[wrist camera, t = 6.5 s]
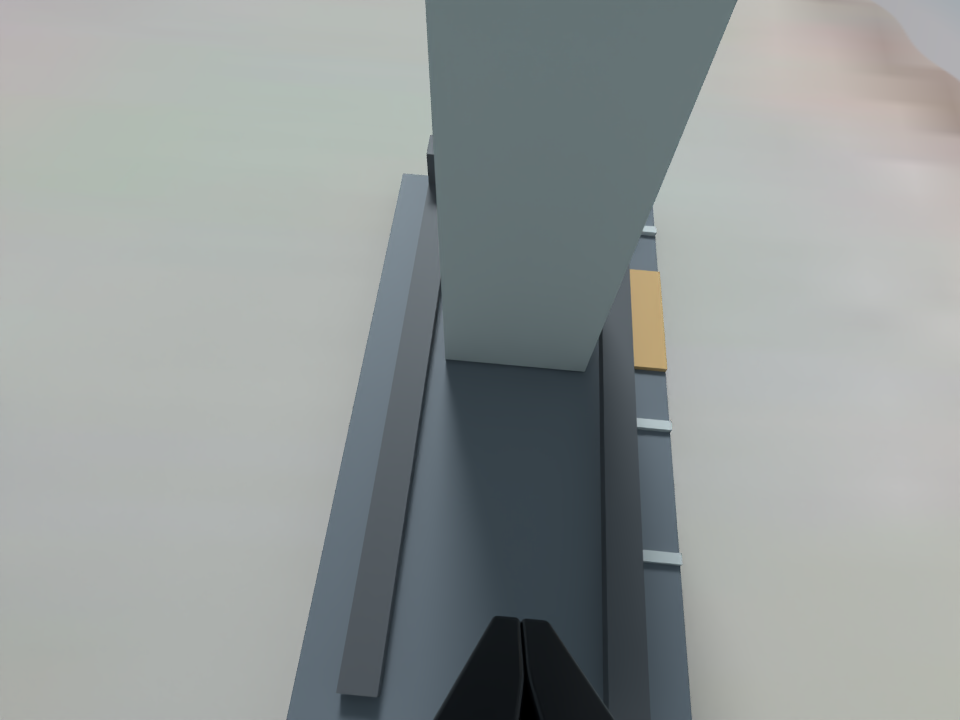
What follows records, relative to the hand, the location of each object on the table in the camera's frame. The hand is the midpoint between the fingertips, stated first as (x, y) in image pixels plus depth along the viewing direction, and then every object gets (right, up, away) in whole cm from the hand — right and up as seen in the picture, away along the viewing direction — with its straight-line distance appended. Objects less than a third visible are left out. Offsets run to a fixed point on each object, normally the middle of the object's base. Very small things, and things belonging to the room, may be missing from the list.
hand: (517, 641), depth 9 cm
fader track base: (0, +2, +10) cm, 11 cm away
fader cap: (+1, +6, +11) cm, 12 cm away
